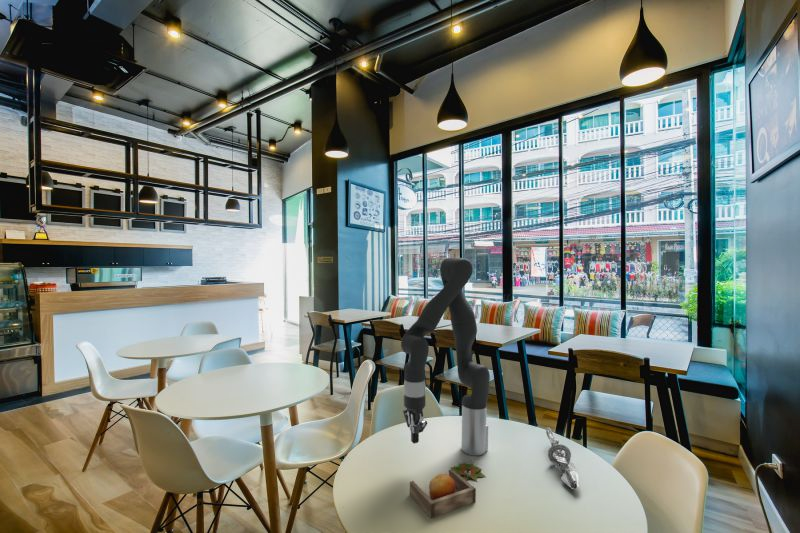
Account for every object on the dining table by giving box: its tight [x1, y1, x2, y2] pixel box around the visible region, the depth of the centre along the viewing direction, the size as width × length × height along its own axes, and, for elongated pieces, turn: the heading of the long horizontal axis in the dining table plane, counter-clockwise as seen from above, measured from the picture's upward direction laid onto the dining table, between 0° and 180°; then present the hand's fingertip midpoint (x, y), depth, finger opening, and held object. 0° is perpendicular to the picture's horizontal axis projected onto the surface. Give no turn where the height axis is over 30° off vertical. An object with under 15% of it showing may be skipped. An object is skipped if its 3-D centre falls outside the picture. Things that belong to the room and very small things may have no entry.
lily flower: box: [450, 458, 487, 482], centre depth 127 cm, size 12×12×5 cm
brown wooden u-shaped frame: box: [409, 468, 477, 519], centre depth 113 cm, size 16×12×4 cm
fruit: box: [429, 473, 456, 500], centre depth 112 cm, size 8×8×8 cm
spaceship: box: [545, 427, 580, 491], centre depth 133 cm, size 8×35×8 cm
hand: (414, 442), depth 128 cm, fingers closed
